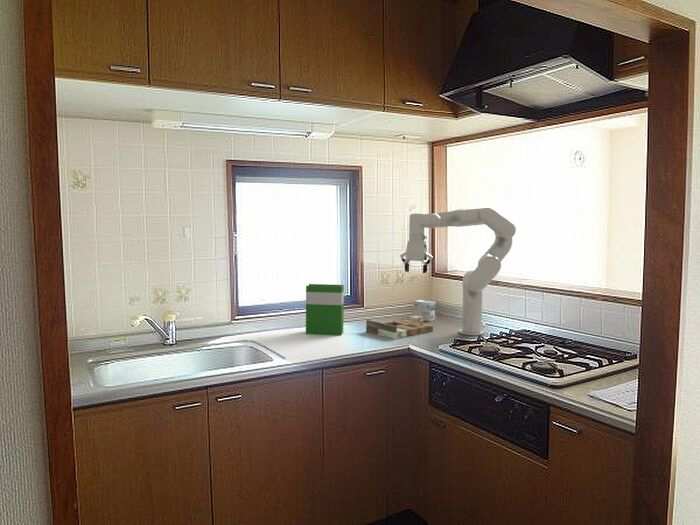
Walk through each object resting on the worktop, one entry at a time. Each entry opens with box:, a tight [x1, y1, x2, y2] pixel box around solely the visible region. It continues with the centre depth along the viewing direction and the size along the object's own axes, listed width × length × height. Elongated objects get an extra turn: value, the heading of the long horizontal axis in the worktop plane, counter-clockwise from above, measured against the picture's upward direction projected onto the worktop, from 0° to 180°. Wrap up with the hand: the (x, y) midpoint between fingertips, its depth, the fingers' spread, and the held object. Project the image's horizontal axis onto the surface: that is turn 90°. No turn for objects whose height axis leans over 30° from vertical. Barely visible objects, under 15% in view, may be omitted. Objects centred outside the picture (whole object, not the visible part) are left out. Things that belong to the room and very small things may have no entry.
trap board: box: [365, 319, 434, 340], centre depth 264 cm, size 28×20×6 cm
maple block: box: [408, 315, 424, 326], centre depth 268 cm, size 5×5×4 cm
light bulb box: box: [413, 299, 436, 322], centre depth 296 cm, size 11×7×11 cm, turn 58°
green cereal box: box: [305, 283, 345, 336], centre depth 258 cm, size 18×7×24 cm, turn 83°
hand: (415, 272), depth 262 cm, fingers open, 9 cm apart
